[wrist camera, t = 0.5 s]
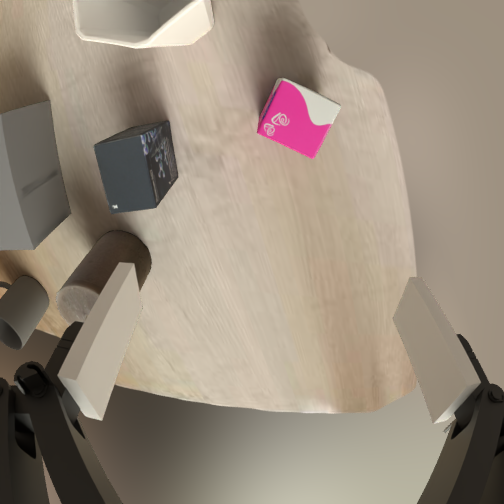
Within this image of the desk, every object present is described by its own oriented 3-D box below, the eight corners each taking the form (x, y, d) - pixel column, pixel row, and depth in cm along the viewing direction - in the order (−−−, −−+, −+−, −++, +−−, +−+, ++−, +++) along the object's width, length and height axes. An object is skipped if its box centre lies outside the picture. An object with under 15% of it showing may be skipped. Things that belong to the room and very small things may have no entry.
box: (180, 177, 39) (156, 210, 30) (140, 182, 39) (108, 215, 30) (170, 119, 35) (141, 134, 26) (129, 126, 35) (91, 145, 26)
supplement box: (276, 76, 32) (284, 75, 22) (320, 98, 33) (346, 106, 24) (256, 118, 35) (255, 134, 25) (300, 138, 36) (316, 162, 26)
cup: (233, 51, 30) (215, 27, 16) (151, 69, 31) (80, 69, 17) (220, -27, 25) (194, -90, 10) (139, -6, 26) (68, -44, 11)
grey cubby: (2, 117, 32) (-44, 135, 23) (50, 100, 32) (0, 113, 23) (24, 217, 42) (-13, 250, 33) (70, 213, 42) (34, 249, 33)
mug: (55, 294, 51) (26, 337, 40) (44, 316, 54) (19, 356, 44) (6, 252, 46) (-29, 289, 36) (-1, 278, 49) (-30, 313, 39)
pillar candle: (159, 245, 44) (124, 313, 32) (143, 291, 49) (113, 359, 36) (102, 220, 42) (51, 278, 30) (92, 268, 47) (51, 329, 34)
